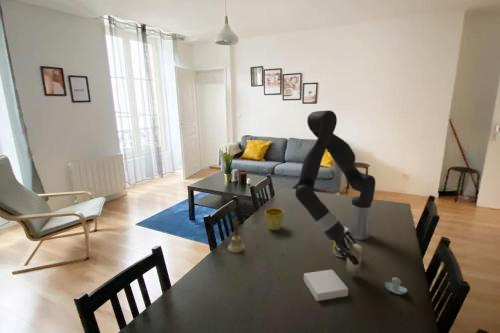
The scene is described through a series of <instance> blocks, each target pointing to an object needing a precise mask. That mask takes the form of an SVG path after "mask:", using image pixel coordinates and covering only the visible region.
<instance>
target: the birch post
mask: <svg viewBox="0 0 500 333" xmlns="http://www.w3.org/2000/svg"><path fill="white" fill-rule="evenodd" d="M349 246H350V251H351V252H352V254H353V255H354V256H355V257H356V259H357V260H358V261H359V264H357V265H354V264H353V263H352V262H351V261H350V259H349V258H346V265H345V266H346V268H345V270H346V271H347V272H348V273H351V274H359V273H360V272H361V266H362V263H361V262H362V257H361V255H362V256H363V253H362V252H363V247H362V246H361V245H359V244H349ZM348 253H349V252H348Z"/></svg>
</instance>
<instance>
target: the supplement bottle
mask: <svg viewBox="0 0 500 333" xmlns="http://www.w3.org/2000/svg"><path fill="white" fill-rule="evenodd" d="M343 227H344V228H345V231H344V232H345V233H346V232H347V231H349V228H348V227H346V226H343ZM336 245H337V244H336V243H335V241H334V240H333V250H332V252H333V254H334V256H336V257H338V258H343V257H342V256H341V255H340V254H339V253H338V252H337V251H336V250H335V248H334V247H335V246H336ZM346 248H347V247H346ZM346 248H345V249H346ZM347 252H348V251H347ZM343 254H344V253H343ZM344 255H345V254H344ZM343 259H344V258H343Z"/></svg>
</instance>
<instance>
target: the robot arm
mask: <svg viewBox="0 0 500 333" xmlns="http://www.w3.org/2000/svg"><path fill="white" fill-rule="evenodd" d="M337 121H338V118H337V115H336V113H335V112H334V111H333V110H330V109H329V110H317V111H313V112H310V114H309V115H308V116H307V121H306V123H307V126H308V128H309V130H310V131H311V132H312V134H313V135H314V136H315V137H316V138H317V139H316V141H315V143H314V144H313V146H312V147H311V148H310V150H309V151H308V152H307V154H306V155H305V157H304V160H303V163H302V166H301V170H300V176H299V177H300V178H299V181H298V184H297V187H296V189H295V197H296V199H297V200H298V201H299V202H300V204H301V205H302V206H303V207H304V208H305V209H306V210H307V212H308V213H309V214H310V216H311V218H312V219H313V220H314V221H315V222H316V224H317V225H318V228H320V229H321V231H322V233H323V234H325V236H326V237H327V238H328V240H330V241H333V242H334V241H335V243H336V244H337V245H336V246H335V247H334V246H333V249H334V248H335V250H336V251H337V252H338V253H339V254H340V255H341V256H342V257H343V259H344V260H345V259H346V260H347V258H349V259H350V261H351V262H352V263H353V264H354V265H357V264H359V261H358V260H357V259H356V257H355V256H354V255H353V254H352V252H351V251H350V246H349V244H357V243H358V242H357V241H356V240H359V241H360V240H361V241H362V240H367V239H369V238H370V237H371V229H372V219H371V210H372V204H373V201H374V196H375V190H376V178H375V176H373V175H371V174H366V173H363V172H361V171H359V169H358V168H357V167H356V165H355V164H356V154H355V153H354V151H353V149H352V148H351V146H350V144H348V143H347V141H345V140H343V139H342V138H341V137H339V136H338V135H336V133H334V132H335V130H336V126H337ZM326 150H327V152H328V153H329V155H330V156H331V159H333V161H334V162H335V164H336V165H337V167H339V169H340V171H341V172H342V173H343V175H344V176H345V179H346V181H347V183H348V184H349V186H350V187H351V189H352V190H354V191H357V192H359V193H360V194H359V196H354V197H352V199H351V206H350V220H349V229H348V231H347V232H346V233H345V232H344V231H345V228H344V227H345V226H343V225H342V223H341V222H340V220H339V219H337V217H336V216H335V215H334V214H333V213H332V212H331V211H330V210H329V208H328V207H327V206H326V205H325V204H324V203H323V202H322V201H321V200H320V198H319V197H318V196H317V194H316V192H314V188H315V184H316V181H317V178H318V176H319V172H320V168H321V164H322V161H323V158H324V155H325V152H326ZM346 247H347V248H346ZM345 248H346V249H345ZM347 251H348V252H349V253H348V252H347ZM343 253H344V254H345V255H344V254H343ZM342 257H341V258H342ZM362 257H363V254H362V255H361V258H362Z"/></svg>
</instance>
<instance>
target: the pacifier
mask: <svg viewBox="0 0 500 333" xmlns="http://www.w3.org/2000/svg"><path fill="white" fill-rule="evenodd" d="M401 284H402V281H401V279H400V278H399V277H396V276H395V277H392V279H391V282H390V281H385V282H384V286H385V289H387V290H388V291H389V292H391V293H394V294H396V295H404V294H406V293H407V292H408V289H407V288H406V287H404V286H401Z"/></svg>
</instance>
